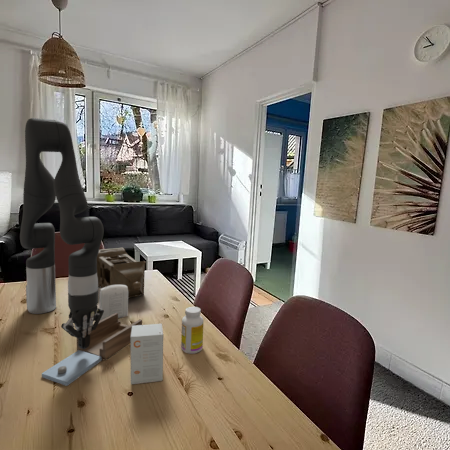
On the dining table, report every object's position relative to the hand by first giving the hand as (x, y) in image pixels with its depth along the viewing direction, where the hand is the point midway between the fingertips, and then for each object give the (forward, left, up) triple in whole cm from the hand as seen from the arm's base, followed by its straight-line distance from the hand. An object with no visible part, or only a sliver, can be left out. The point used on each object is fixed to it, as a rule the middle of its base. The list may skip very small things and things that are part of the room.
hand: (84, 347), depth 87 cm
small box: (+20, +2, -4) cm, 21 cm away
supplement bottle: (+24, +19, -4) cm, 31 cm away
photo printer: (-12, +24, -4) cm, 27 cm away
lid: (+1, -5, -4) cm, 6 cm away
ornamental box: (-27, +44, -4) cm, 52 cm away
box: (0, +10, -3) cm, 11 cm away
